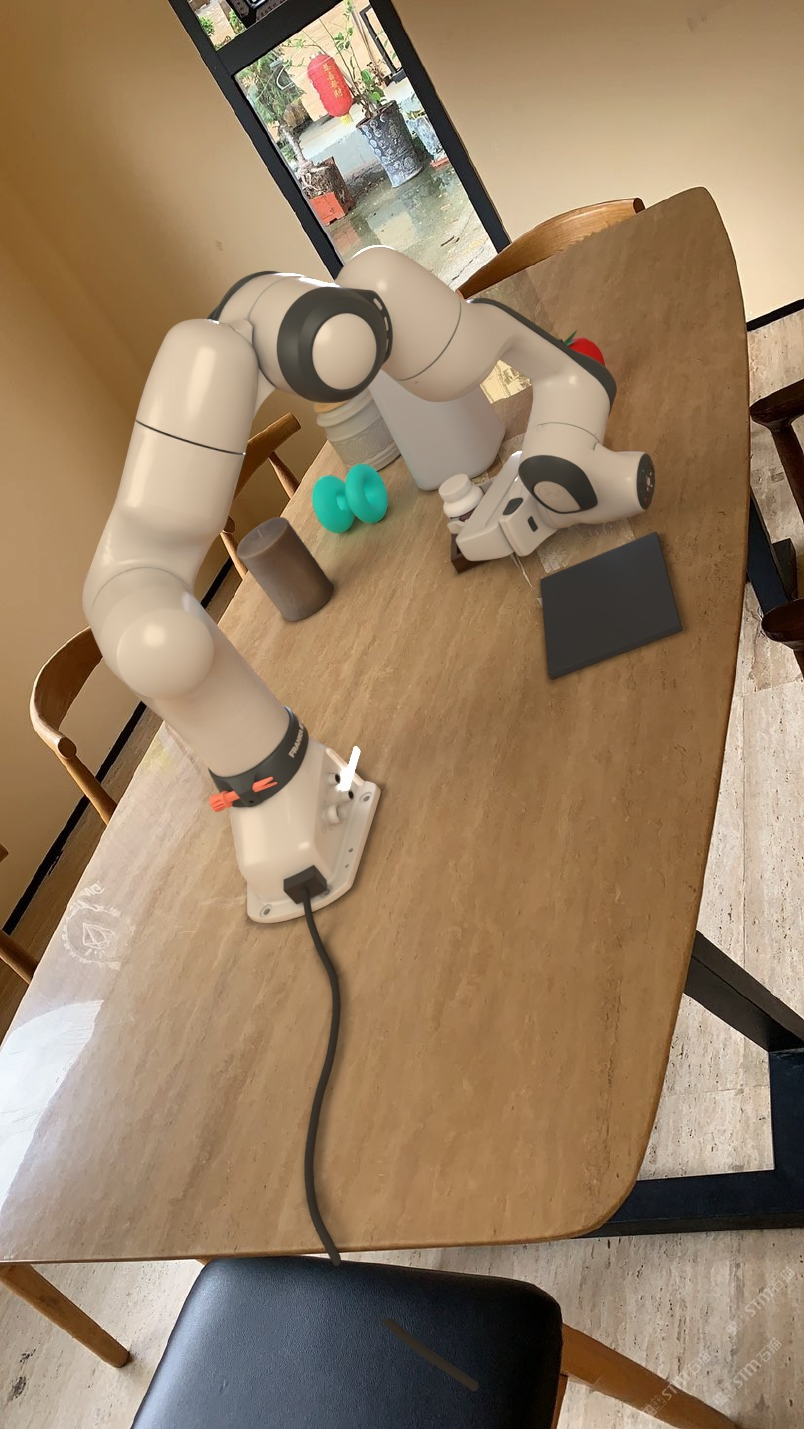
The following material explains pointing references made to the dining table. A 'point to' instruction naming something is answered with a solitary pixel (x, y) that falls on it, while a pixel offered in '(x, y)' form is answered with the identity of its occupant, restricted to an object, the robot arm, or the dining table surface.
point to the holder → (461, 557)
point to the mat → (608, 606)
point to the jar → (357, 431)
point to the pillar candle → (285, 569)
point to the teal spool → (350, 498)
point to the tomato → (584, 347)
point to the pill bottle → (460, 497)
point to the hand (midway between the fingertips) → (462, 509)
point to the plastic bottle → (439, 432)
